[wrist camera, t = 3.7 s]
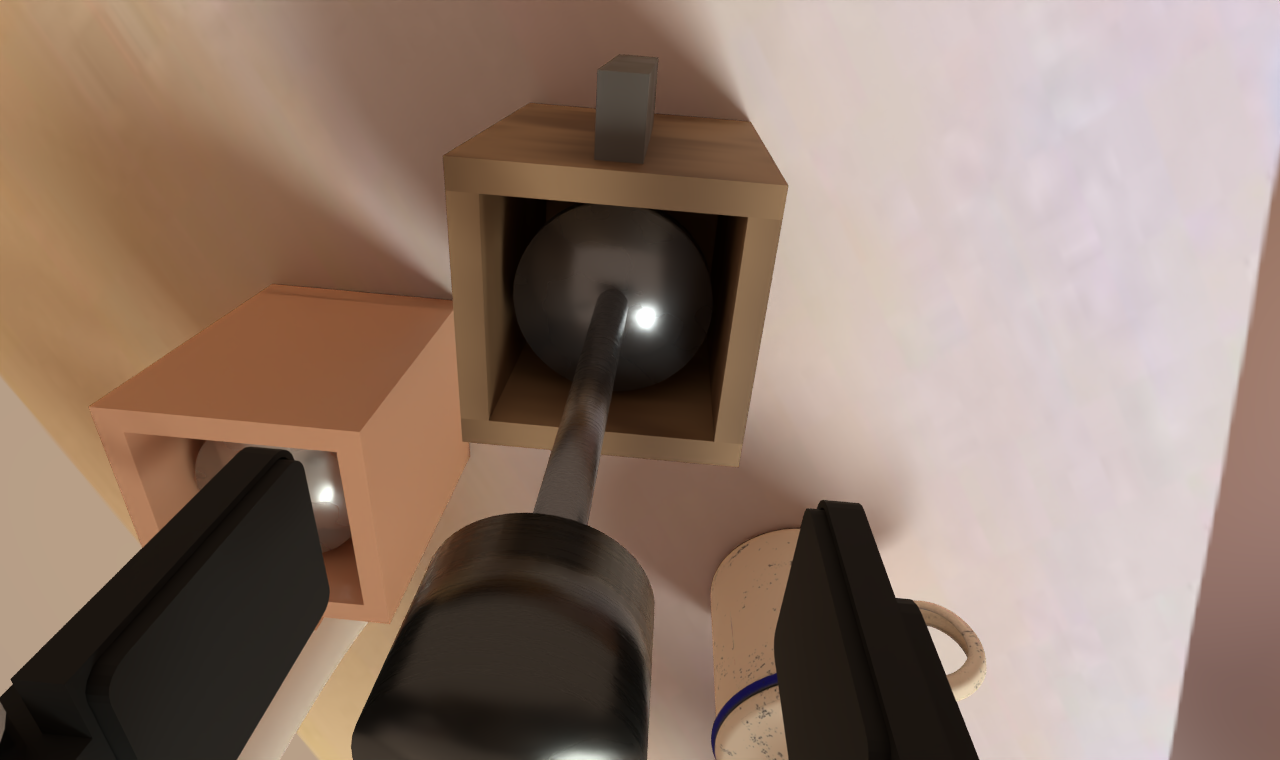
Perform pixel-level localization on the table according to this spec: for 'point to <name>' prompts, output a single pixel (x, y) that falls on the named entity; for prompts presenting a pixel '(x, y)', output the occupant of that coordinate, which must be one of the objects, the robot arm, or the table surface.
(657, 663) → the table surface
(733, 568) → the teacup with lid
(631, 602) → the dark metallic plunger
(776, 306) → the table surface
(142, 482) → the square planter pot
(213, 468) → the black knobbed plunger
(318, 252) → the table surface
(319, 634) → the cosmetic bottle
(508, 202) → the wooden handled box
